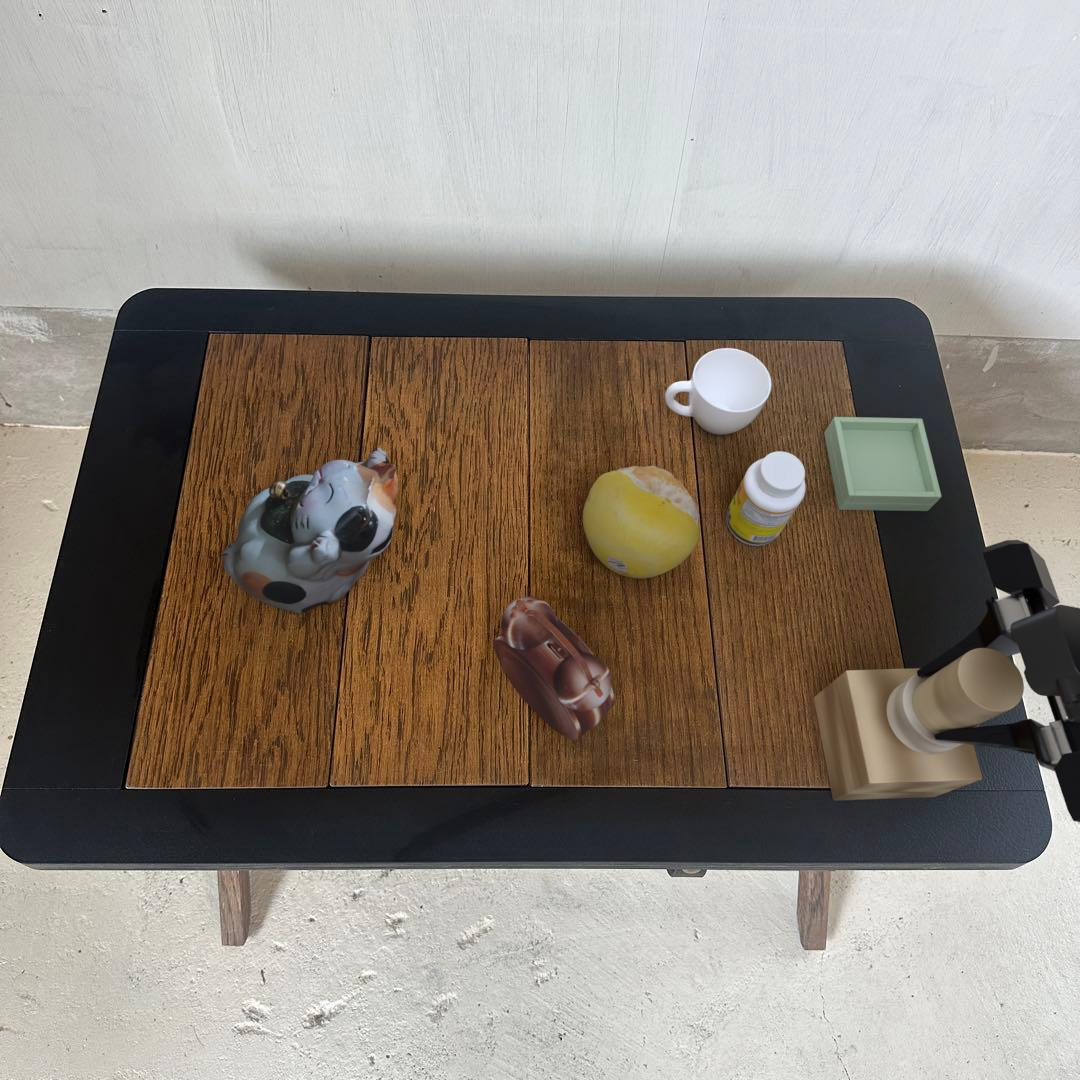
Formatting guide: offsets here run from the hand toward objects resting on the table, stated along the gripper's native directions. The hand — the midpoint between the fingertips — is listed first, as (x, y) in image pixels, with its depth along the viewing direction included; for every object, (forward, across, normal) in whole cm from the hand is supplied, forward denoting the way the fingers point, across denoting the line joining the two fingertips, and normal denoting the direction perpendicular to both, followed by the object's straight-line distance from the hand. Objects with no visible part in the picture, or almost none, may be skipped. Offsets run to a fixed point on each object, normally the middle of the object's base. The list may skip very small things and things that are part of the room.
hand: (927, 705), depth 62 cm
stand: (+9, 0, +10) cm, 14 cm away
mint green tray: (+4, -28, +16) cm, 32 cm away
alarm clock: (+29, -6, -9) cm, 31 cm away
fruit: (+22, -20, -3) cm, 30 cm away
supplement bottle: (+14, -22, +6) cm, 27 cm away
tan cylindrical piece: (+2, 0, +4) cm, 4 cm away
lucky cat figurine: (+43, -22, -24) cm, 54 cm away
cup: (+15, -35, +4) cm, 38 cm away
